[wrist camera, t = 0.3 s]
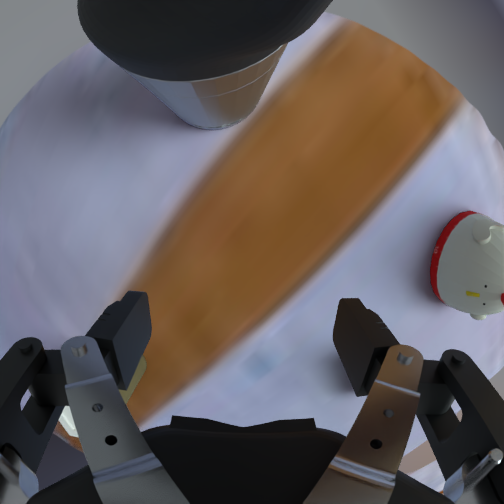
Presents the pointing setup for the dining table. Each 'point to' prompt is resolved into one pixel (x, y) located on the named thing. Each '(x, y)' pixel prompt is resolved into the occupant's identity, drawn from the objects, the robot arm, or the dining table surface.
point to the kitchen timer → (470, 265)
